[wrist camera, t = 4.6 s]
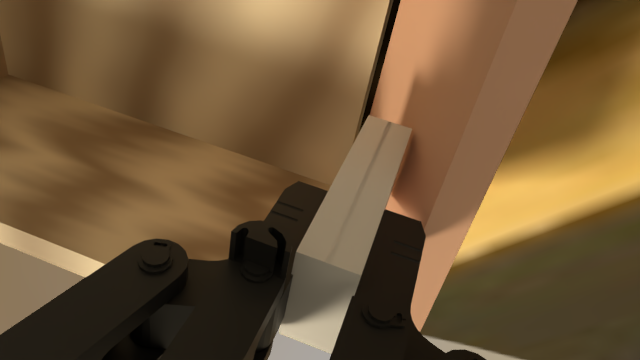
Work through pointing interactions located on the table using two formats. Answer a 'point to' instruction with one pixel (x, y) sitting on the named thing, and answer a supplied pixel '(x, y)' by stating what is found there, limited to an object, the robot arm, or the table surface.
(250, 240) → the robot arm
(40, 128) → the box
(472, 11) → the tailgate
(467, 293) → the table surface
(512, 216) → the table surface
